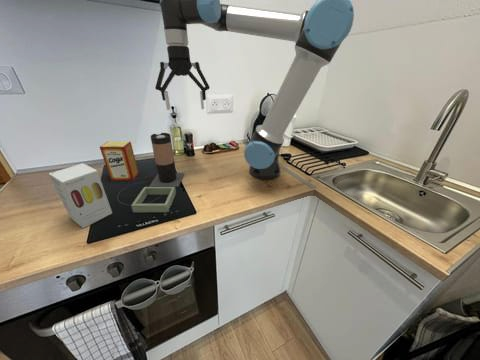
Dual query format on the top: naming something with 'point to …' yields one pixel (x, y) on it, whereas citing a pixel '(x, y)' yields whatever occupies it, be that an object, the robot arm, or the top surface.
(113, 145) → the baking soda box
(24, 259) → the top surface
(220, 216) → the top surface
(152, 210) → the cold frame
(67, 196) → the supplement box
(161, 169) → the travel mug
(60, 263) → the top surface
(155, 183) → the rubber mat
